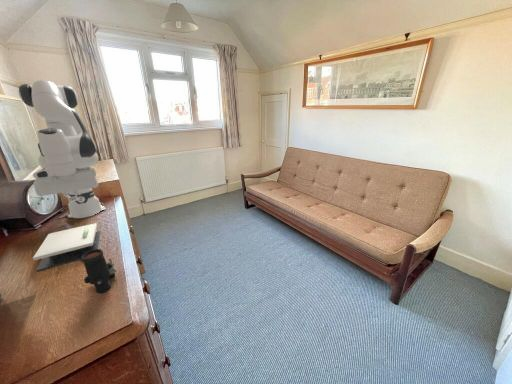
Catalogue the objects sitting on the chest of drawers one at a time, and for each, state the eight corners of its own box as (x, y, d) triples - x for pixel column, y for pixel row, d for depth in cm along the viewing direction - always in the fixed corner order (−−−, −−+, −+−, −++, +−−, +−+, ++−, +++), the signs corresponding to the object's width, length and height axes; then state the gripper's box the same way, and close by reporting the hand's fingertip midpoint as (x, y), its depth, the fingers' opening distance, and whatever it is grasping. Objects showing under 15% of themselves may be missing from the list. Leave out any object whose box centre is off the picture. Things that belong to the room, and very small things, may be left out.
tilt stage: (49, 236, 98) (47, 230, 97) (97, 225, 106) (95, 220, 106) (34, 260, 80) (31, 254, 79) (92, 245, 89) (90, 239, 88)
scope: (107, 241, 74) (107, 255, 66) (117, 273, 79) (118, 290, 71) (78, 249, 70) (74, 265, 62) (90, 282, 75) (88, 302, 67)
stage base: (51, 244, 99) (48, 236, 98) (100, 232, 109) (98, 224, 107) (36, 272, 81) (32, 263, 79) (97, 255, 90) (94, 246, 89)
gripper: (94, 164, 95) (102, 193, 100) (32, 171, 86) (44, 203, 90) (93, 167, 90) (102, 197, 95) (27, 175, 80) (40, 208, 85)
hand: (73, 200), depth 92 cm, fingers closed
